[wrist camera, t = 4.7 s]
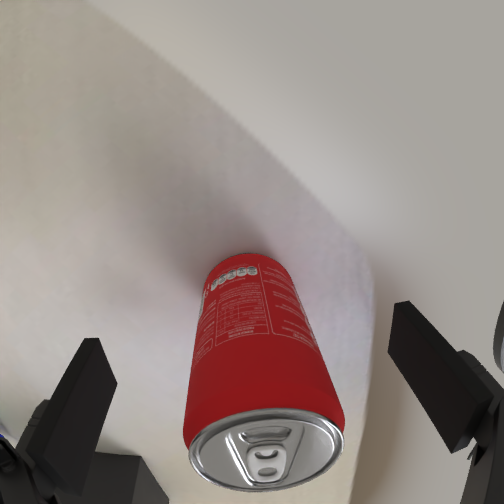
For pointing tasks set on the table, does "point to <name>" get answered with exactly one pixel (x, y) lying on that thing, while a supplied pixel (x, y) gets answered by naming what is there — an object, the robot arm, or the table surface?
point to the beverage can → (258, 384)
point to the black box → (117, 482)
